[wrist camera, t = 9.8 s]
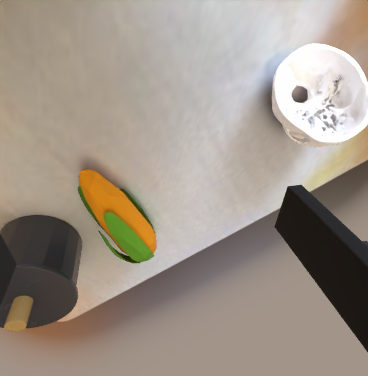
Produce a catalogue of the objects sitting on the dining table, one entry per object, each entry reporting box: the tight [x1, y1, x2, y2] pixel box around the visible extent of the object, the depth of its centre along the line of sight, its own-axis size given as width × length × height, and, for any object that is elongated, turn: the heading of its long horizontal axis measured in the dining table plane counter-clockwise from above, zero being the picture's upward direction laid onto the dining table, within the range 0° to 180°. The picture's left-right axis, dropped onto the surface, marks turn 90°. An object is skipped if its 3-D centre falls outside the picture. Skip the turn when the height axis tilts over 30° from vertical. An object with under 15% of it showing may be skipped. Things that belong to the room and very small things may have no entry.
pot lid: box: [0, 263, 78, 332], centre depth 33 cm, size 14×14×5 cm
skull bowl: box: [272, 44, 368, 147], centre depth 36 cm, size 10×14×12 cm
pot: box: [0, 215, 82, 285], centre depth 38 cm, size 13×13×10 cm
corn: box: [78, 169, 157, 263], centre depth 39 cm, size 7×8×20 cm
